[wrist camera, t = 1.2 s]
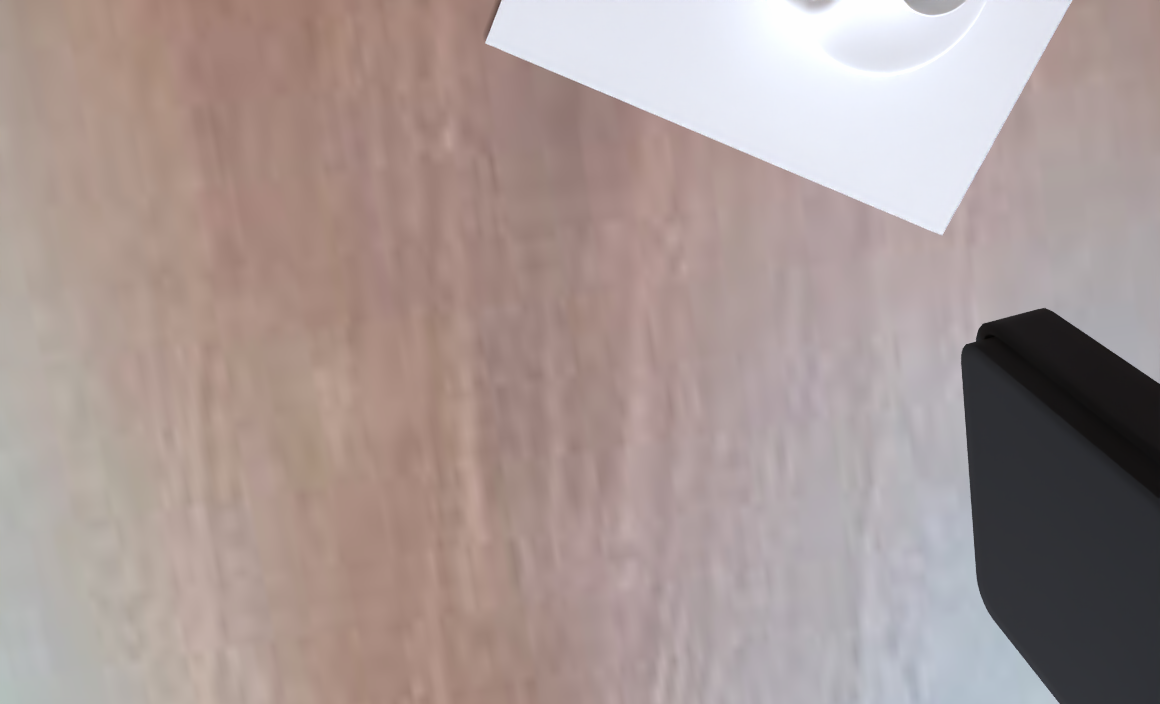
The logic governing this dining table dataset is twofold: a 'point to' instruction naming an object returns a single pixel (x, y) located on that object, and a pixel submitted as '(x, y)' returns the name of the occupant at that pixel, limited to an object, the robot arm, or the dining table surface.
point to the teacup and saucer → (810, 80)
